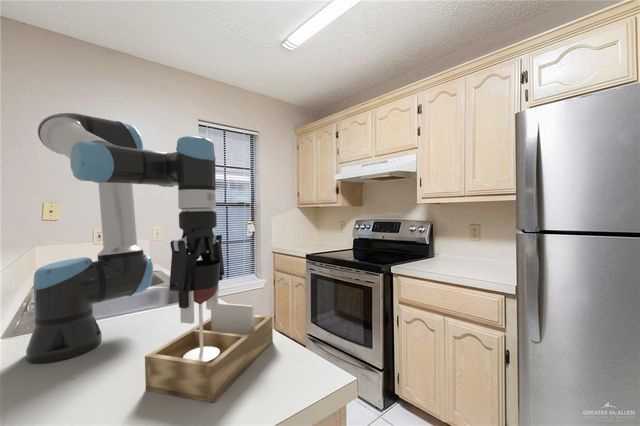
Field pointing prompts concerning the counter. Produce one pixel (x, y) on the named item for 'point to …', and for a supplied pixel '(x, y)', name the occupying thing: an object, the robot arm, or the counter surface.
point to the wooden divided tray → (205, 377)
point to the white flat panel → (232, 318)
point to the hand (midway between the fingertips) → (200, 315)
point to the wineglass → (204, 289)
